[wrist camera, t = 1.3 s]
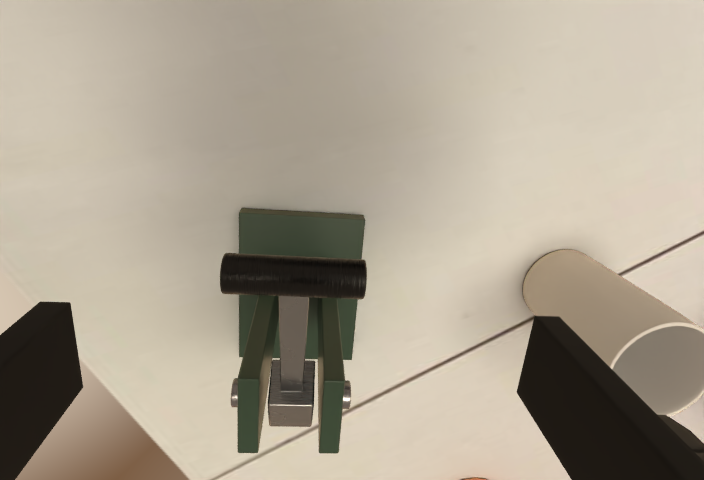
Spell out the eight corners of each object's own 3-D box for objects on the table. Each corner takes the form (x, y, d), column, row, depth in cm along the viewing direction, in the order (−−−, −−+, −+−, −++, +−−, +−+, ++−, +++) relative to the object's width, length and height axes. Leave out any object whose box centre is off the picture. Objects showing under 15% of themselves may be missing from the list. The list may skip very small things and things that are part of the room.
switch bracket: (241, 207, 33) (189, 303, 20) (363, 214, 34) (396, 311, 21) (241, 348, 38) (198, 510, 24) (350, 351, 38) (370, 509, 25)
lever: (227, 234, 16) (215, 288, 15) (365, 241, 17) (368, 295, 15) (247, 382, 25) (241, 426, 24) (337, 384, 26) (337, 427, 24)
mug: (515, 256, 36) (604, 338, 25) (597, 236, 36) (723, 310, 25) (525, 359, 40) (608, 471, 29) (601, 342, 40) (712, 447, 29)
